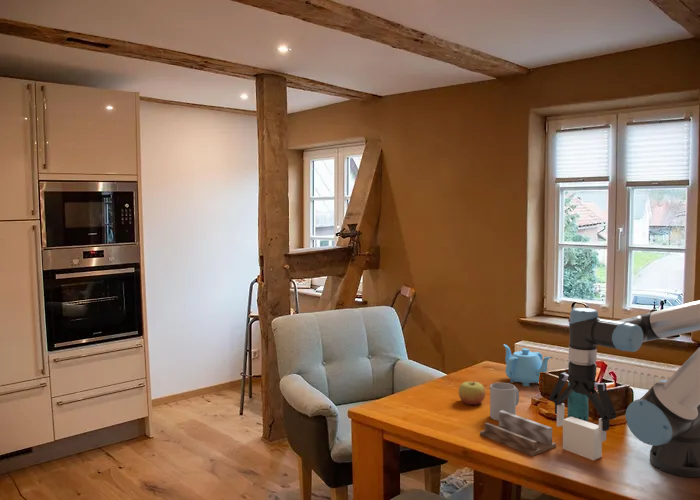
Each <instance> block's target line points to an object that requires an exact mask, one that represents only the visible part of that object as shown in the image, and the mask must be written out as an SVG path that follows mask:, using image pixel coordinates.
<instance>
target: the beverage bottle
mask: <svg viewBox="0 0 700 500" xmlns="http://www.w3.org/2000/svg"><path fill="white" fill-rule="evenodd" d="M569 385H570V383H569V382H567V387H568V386H569ZM566 399H567V409H566V410H567V412H566V413H567V418H568V417H574V418H577V419H581V420H584V421H587V422H590V421H589V398H588V397H587V396H586V395H582V394H580V393H576V392H575V391H573V392H572V393H571V394H570V395H569V396H568V397H567V398H566Z"/></svg>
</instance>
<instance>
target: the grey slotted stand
mask: <svg viewBox="0 0 700 500" xmlns="http://www.w3.org/2000/svg"><path fill="white" fill-rule="evenodd" d="M479 434H480V435H481V436H482V437H484V438H487V437H488V439H489V438H490V440H492V439H493V440H492V441H494V440H495V441H494V442H497V441H498V442H497V443H499V442H500V443H499V444H502V445H504V444H505V445H504V446H506V445H507V446H506V447H509V448H511V449H514V450H516V449H517V450H516V451H519V452H521V451H522V452H521V453H523V452H524V454H526V455H528V454H529V455H528V456H531V457H533V456H536V454H537V455H538V454H541V453H544V452H547V451H548V450H549V451H550V450H551V449H554V448H556V447H557V444H556V443H555V442H553V426H552V427H551V426H549V425H545V424H543V423H539V422H537V421H534V420H531V419H529V418H526V417H522V416H520V415H517V414H516V415H515V414H512V413H509V412H506V411H503V410H501V411H499V421H498V425H495V424H492V423H489V422H485V423H484V430H481V431H479Z"/></svg>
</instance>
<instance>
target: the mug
mask: <svg viewBox="0 0 700 500" xmlns="http://www.w3.org/2000/svg"><path fill="white" fill-rule="evenodd" d="M489 395H490V396H489V401H490V402H489V405H490V406H489V410H490V411H489V417H490V418H491V419H492V420H495V421H498V422H499V411H501V410H503V411H506V412H509V413H512V414H515V415H517V413H516V407H517V406H518V405H519V401H520V391H519V389H518V388H517V387H516V386H515V384H512V383H509V382H508V383H507V382H494V383H491V384H490V386H489Z"/></svg>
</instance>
